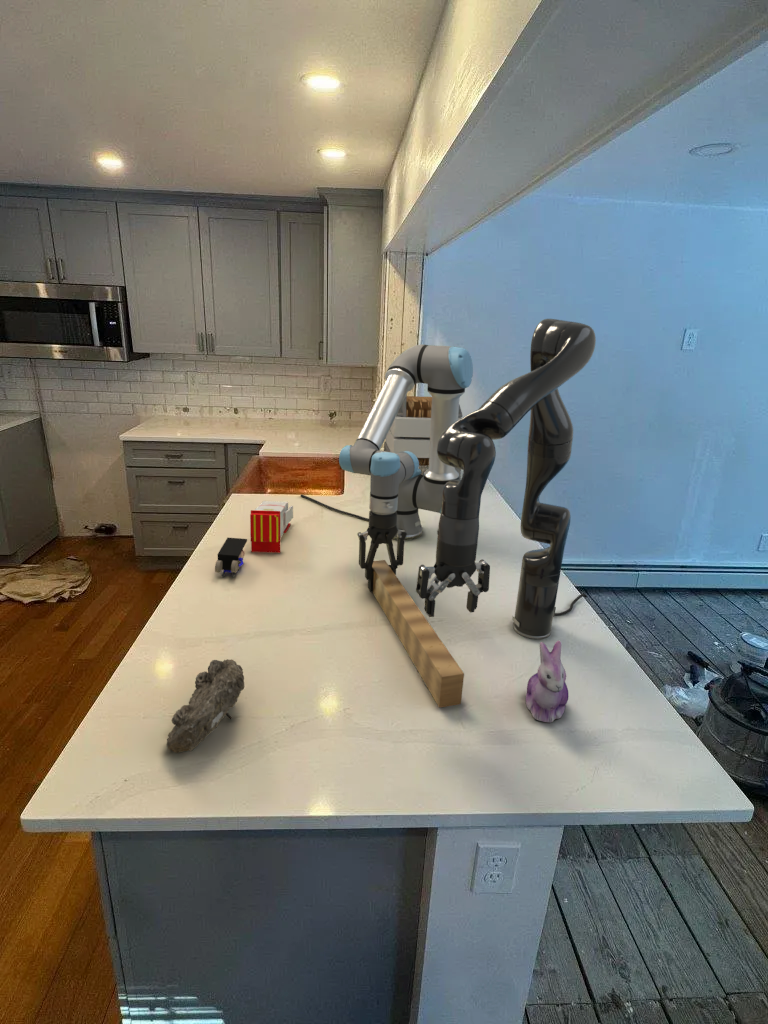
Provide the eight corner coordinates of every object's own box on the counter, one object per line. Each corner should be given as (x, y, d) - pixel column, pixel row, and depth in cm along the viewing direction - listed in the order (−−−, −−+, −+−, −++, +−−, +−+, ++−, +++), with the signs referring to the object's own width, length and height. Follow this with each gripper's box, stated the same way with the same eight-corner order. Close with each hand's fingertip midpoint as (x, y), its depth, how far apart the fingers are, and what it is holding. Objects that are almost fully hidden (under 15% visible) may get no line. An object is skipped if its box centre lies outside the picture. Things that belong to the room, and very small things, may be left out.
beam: (367, 584, 162) (368, 561, 160) (383, 582, 164) (385, 559, 161) (439, 707, 113) (441, 677, 111) (461, 704, 115) (464, 673, 112)
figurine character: (238, 584, 162) (249, 557, 175) (236, 562, 158) (247, 536, 172) (215, 584, 161) (227, 556, 175) (212, 561, 158) (225, 535, 171)
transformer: (382, 463, 289) (386, 382, 275) (445, 464, 293) (451, 384, 279) (390, 482, 257) (394, 392, 243) (460, 483, 261) (468, 394, 247)
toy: (295, 495, 204) (283, 512, 175) (295, 531, 207) (283, 554, 178) (261, 494, 204) (243, 511, 175) (262, 530, 207) (244, 553, 177)
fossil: (192, 660, 117) (244, 628, 112) (224, 691, 120) (276, 661, 115) (142, 746, 98) (202, 712, 93) (182, 779, 101) (242, 748, 96)
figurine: (546, 731, 108) (557, 664, 103) (511, 699, 116) (520, 636, 111) (582, 717, 112) (595, 652, 107) (546, 687, 121) (556, 626, 116)
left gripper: (354, 517, 146) (352, 598, 154) (419, 513, 151) (414, 591, 159) (347, 507, 152) (345, 585, 160) (410, 504, 157) (405, 579, 165)
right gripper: (429, 546, 100) (423, 626, 106) (501, 541, 104) (491, 618, 110) (415, 531, 107) (409, 607, 112) (483, 526, 111) (475, 600, 117)
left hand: (379, 588), depth 159 cm, fingers closed on beam, 5 cm apart
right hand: (450, 612), depth 111 cm, fingers open, 8 cm apart
